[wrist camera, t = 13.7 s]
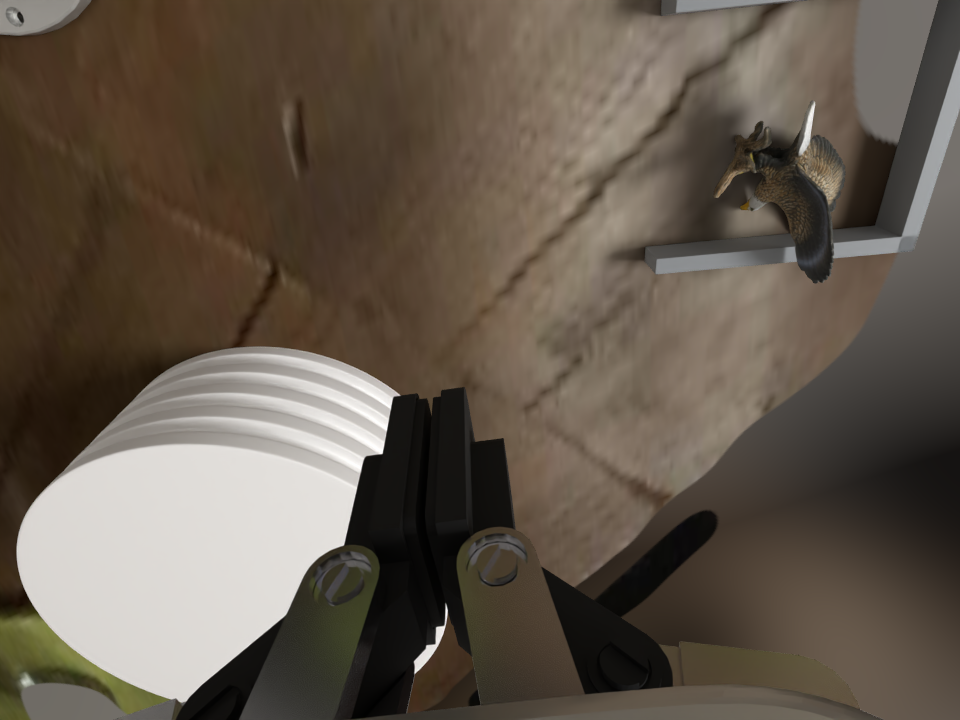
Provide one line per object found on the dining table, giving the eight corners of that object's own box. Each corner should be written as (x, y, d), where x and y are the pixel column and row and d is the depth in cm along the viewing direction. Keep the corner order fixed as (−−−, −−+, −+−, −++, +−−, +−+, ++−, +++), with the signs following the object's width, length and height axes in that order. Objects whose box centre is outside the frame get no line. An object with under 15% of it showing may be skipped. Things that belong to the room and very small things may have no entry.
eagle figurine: (673, 218, 33) (783, 298, 34) (749, 172, 26) (885, 273, 27) (729, 125, 34) (833, 205, 35) (816, 56, 27) (944, 158, 28)
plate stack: (500, 546, 50) (506, 668, 40) (248, 619, 55) (199, 743, 45) (355, 291, 37) (312, 377, 27) (43, 417, 42) (-90, 529, 32)
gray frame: (662, -7, 28) (677, -12, 26) (968, -40, 28) (1010, -48, 26) (644, 261, 36) (655, 274, 34) (886, 238, 35) (913, 251, 33)
